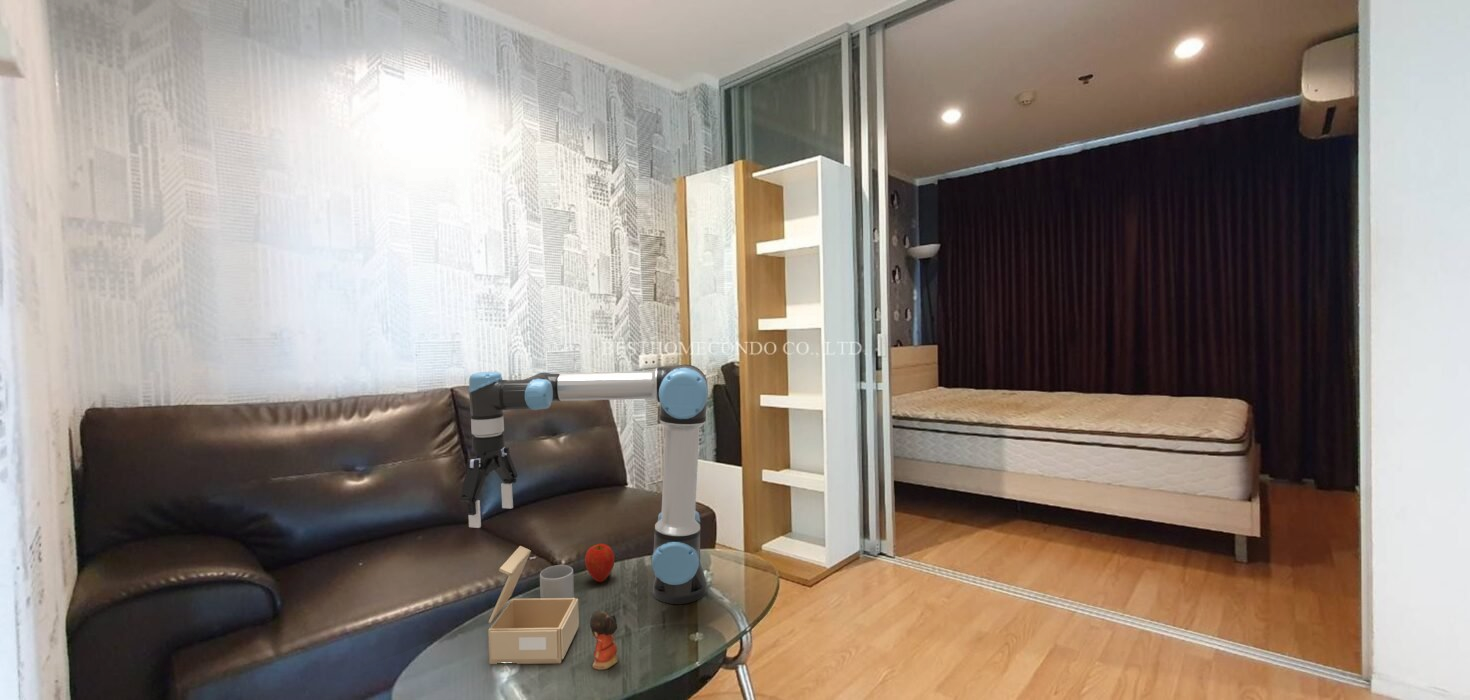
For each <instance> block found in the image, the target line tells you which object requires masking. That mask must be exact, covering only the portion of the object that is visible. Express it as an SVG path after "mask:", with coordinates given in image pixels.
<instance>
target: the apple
mask: <svg viewBox="0 0 1470 700" xmlns="http://www.w3.org/2000/svg"><path fill="white" fill-rule="evenodd" d="M614 565H615V554H614V551H613V550H612V548H611V547H610V546H609V545H608V544H606V543H597V544H594V545H593V546H591V547H589V548H588V549H587V551H586V553H585V556H584V566H585V568H586V570H587V572H588V574H589V575H590V577H592V579H594V581H596V582H598V583H603V582H605V581H606V580H607V578H608V577H609V575H610V573H611V572H612V570H613V569H614Z"/></svg>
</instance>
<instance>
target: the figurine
mask: <svg viewBox="0 0 1470 700" xmlns="http://www.w3.org/2000/svg"><path fill="white" fill-rule="evenodd" d="M589 621H590V622H589V627H590V629H591V632H592V636H593V637H594V638H595V639H596V643H595V648H594V649H595V651H593V655H594V656H593V657H594V662H593V664H592V665H591V668H593V669H595V670H607V669H609V668H611V667H612V666H615V664H617V663H618V660H619V659H618V655H617V653H618V647H617V644H616V643H615V641H614V640H615V639H614V638H615V637H614V636H613V634H614V633H615V632H616V631H617V630H618V624H617V618H616V615H611V614H610V613H608V611H605V610H596V611H594V612H593V613H592V616H591V618H590V620H589Z"/></svg>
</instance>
